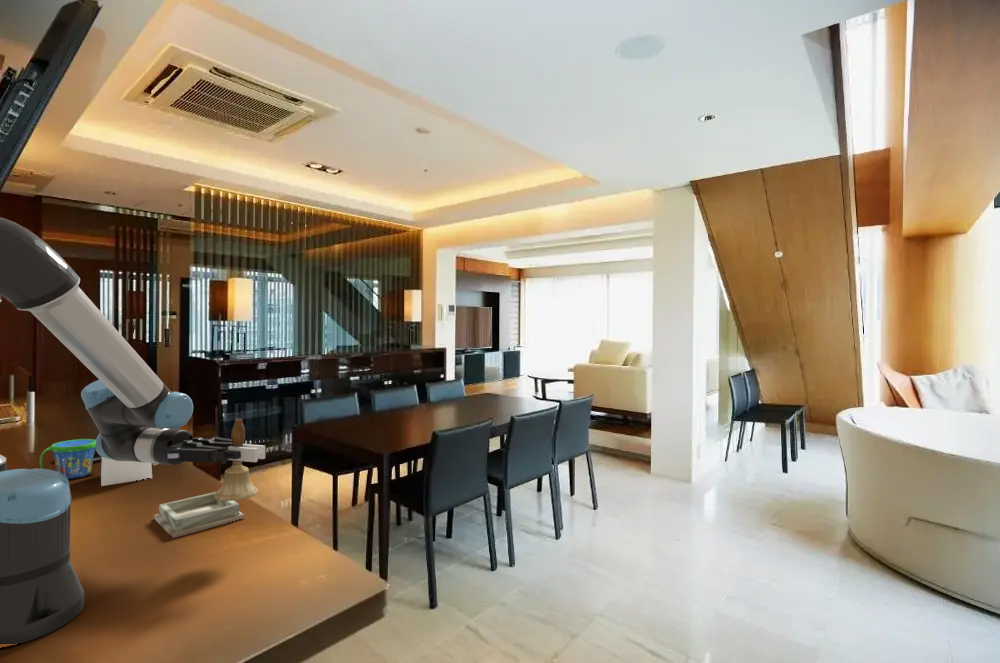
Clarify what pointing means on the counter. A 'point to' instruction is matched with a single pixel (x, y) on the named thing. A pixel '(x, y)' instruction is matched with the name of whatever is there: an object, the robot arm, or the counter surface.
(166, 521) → the rectangular tray
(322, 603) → the counter surface
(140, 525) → the counter surface
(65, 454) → the snack cup
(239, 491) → the hand bell
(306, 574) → the counter surface
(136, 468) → the milk
